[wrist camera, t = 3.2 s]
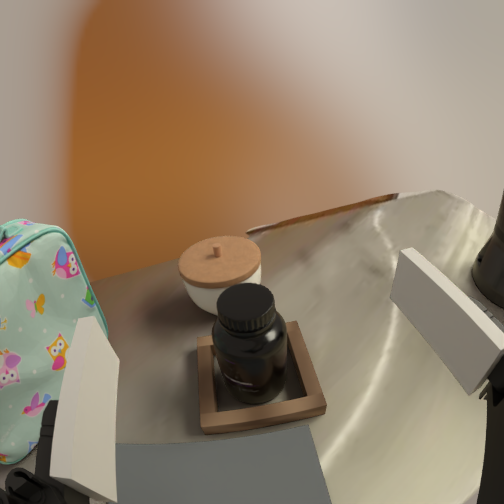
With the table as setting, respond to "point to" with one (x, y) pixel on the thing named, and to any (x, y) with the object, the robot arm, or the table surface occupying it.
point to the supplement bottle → (250, 343)
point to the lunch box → (36, 326)
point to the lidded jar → (218, 268)
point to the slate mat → (223, 471)
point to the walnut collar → (263, 414)
